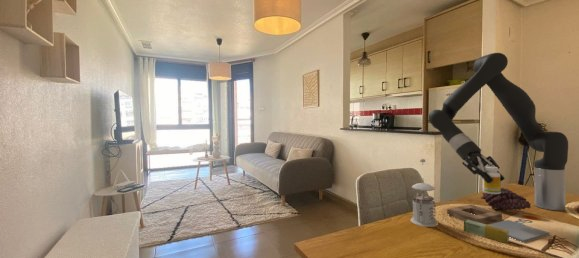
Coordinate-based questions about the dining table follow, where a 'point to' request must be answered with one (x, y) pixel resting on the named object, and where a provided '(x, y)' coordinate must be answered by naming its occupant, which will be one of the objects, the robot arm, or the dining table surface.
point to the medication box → (486, 231)
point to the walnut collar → (480, 214)
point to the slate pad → (520, 230)
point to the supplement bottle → (495, 184)
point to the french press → (423, 206)
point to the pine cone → (506, 200)
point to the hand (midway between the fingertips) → (496, 180)
